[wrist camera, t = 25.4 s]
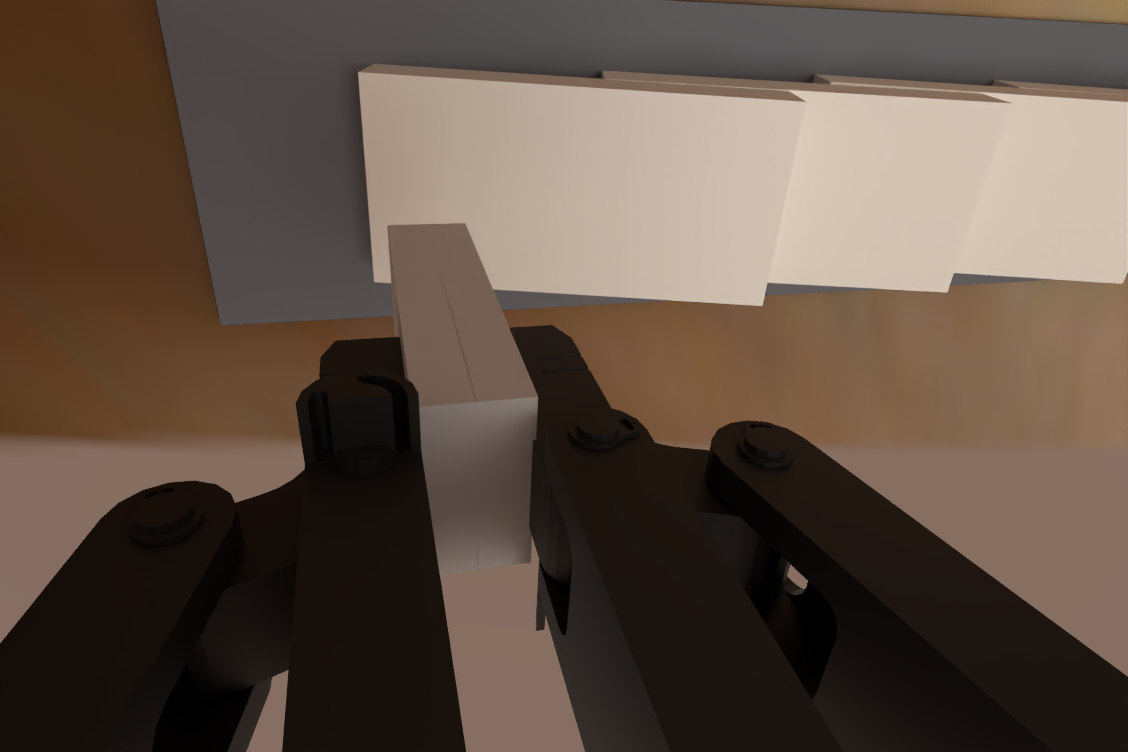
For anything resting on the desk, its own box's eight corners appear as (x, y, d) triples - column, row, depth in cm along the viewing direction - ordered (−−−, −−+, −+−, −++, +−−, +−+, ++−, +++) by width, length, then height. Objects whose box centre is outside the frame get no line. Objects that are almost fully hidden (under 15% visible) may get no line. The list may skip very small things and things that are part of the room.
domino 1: (374, 282, 22) (762, 306, 22) (357, 72, 19) (806, 101, 19) (387, 260, 24) (750, 283, 24) (374, 63, 21) (789, 91, 21)
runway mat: (223, 319, 24) (221, 325, 23) (154, -28, 19) (149, -28, 18) (1120, 271, 33) (1131, 275, 33) (1234, 29, 28) (1248, 31, 28)
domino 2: (589, 273, 24) (947, 292, 24) (604, 78, 21) (1013, 103, 21) (587, 254, 25) (924, 272, 26) (601, 70, 22) (982, 93, 23)
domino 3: (789, 262, 26) (1122, 283, 26) (831, 81, 23) (1207, 107, 23) (776, 245, 27) (1091, 265, 27) (814, 74, 24) (1166, 98, 24)
